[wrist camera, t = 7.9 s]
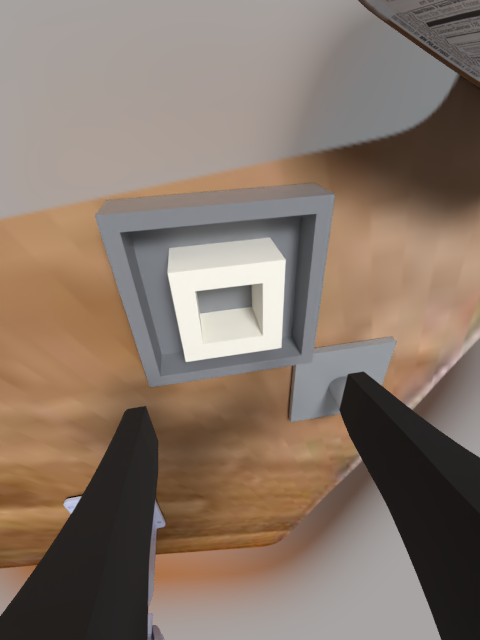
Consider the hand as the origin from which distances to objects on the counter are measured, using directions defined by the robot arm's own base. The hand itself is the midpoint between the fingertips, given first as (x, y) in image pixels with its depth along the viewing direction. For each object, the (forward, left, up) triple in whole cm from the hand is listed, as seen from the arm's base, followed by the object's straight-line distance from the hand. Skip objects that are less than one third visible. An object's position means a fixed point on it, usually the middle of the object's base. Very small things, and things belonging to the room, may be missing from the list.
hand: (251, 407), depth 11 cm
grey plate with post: (-10, -9, -9) cm, 17 cm away
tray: (0, 0, -9) cm, 9 cm away
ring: (0, 0, -9) cm, 9 cm away
